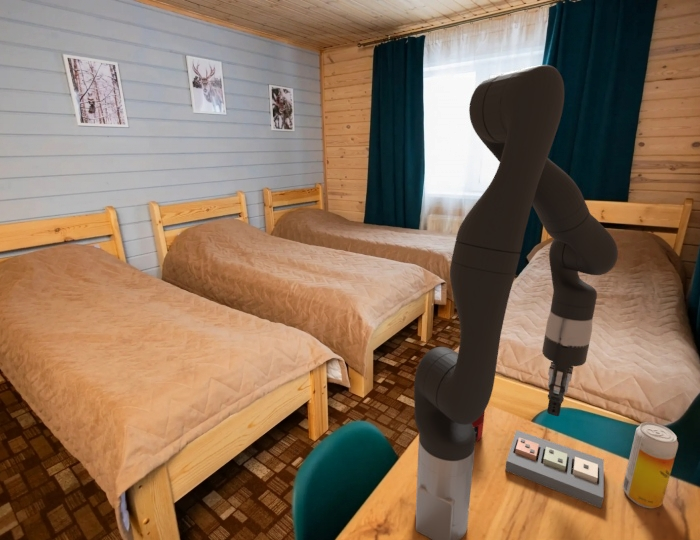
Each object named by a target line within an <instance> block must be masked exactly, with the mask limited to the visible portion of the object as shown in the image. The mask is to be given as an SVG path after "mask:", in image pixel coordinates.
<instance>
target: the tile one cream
mask: <svg viewBox="0 0 700 540" xmlns="http://www.w3.org/2000/svg"><path fill="white" fill-rule="evenodd" d="M571 474H572V475H575V476H578V477H580V478H583V479H586V480H588V481H591V482H594V483H597V479H598V464H595V463H592V462H590V461H587V460H584V459H581V458H578V457H575V460H574V465H573V469H572V472H571Z"/></svg>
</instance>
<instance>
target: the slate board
mask: <svg viewBox="0 0 700 540" xmlns="http://www.w3.org/2000/svg"><path fill="white" fill-rule="evenodd" d="M519 437H520V438H523V439H526V440H528V441H531V442H534V443H537V444H539V447H538V454H537V458H538V459H537V460H536V461H534V460H531V459H529V458H526V457H523V456H520V455H518V454H515V451H516V446H517V443H518V440H519ZM546 447H549V448H552V449H555V450H558V451H560V452H563V453H566V454H567V461H566V471H565V472H564V471H561V470H559V469H556V468H553V467H550V466H548V465H545V464H543V459H544V455H545V450H546ZM575 457H578V458H581V459H584V460H587V461H590V462H592V463H595V464H598V479H597V483H594V482H591V481H588V480H586V479H583V478H580V477H578V476H575V475H572V470H573V465H574V460H575ZM505 461H506V462H505V471H506V472H509V473H511V474H513V475H516V476H518V477H521V478H523V479H524V480H525V479H526V480H528V481H530V482H533V483H536V484H538V485H541V486H544V487H547V488H549V489H552V490H554V491H556V492H558V493H561V494H564V495H566V496H569V497H572V498H574V499H577V500H579V501H582V502H583V503H586V504H589V505H590V506H591V505H592V506H595V507H596V508H600V509H602V507H603V502H604V501H603V500H604V481H605V480H604V478H605V477H604V472H605V471H604V468H605V467H604V466H605V465H604V463H605V462H604V461H605V459H603V458H601V457H599V456H595V455H592V454H589V453H586V452H583V451H580V450H576V449H574V448H571V447H568V446H566V445H562V444H559V443H556V442H553V441H550V440H548V439H544V438H541V437H538V436H536V435H532V434H530V433H526V432H523V431H522V430H518V429H516V430H515V433H514V436H513V440H512V442H511V445H510V448H509V452H508V454H507V458H506V460H505Z"/></svg>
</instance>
